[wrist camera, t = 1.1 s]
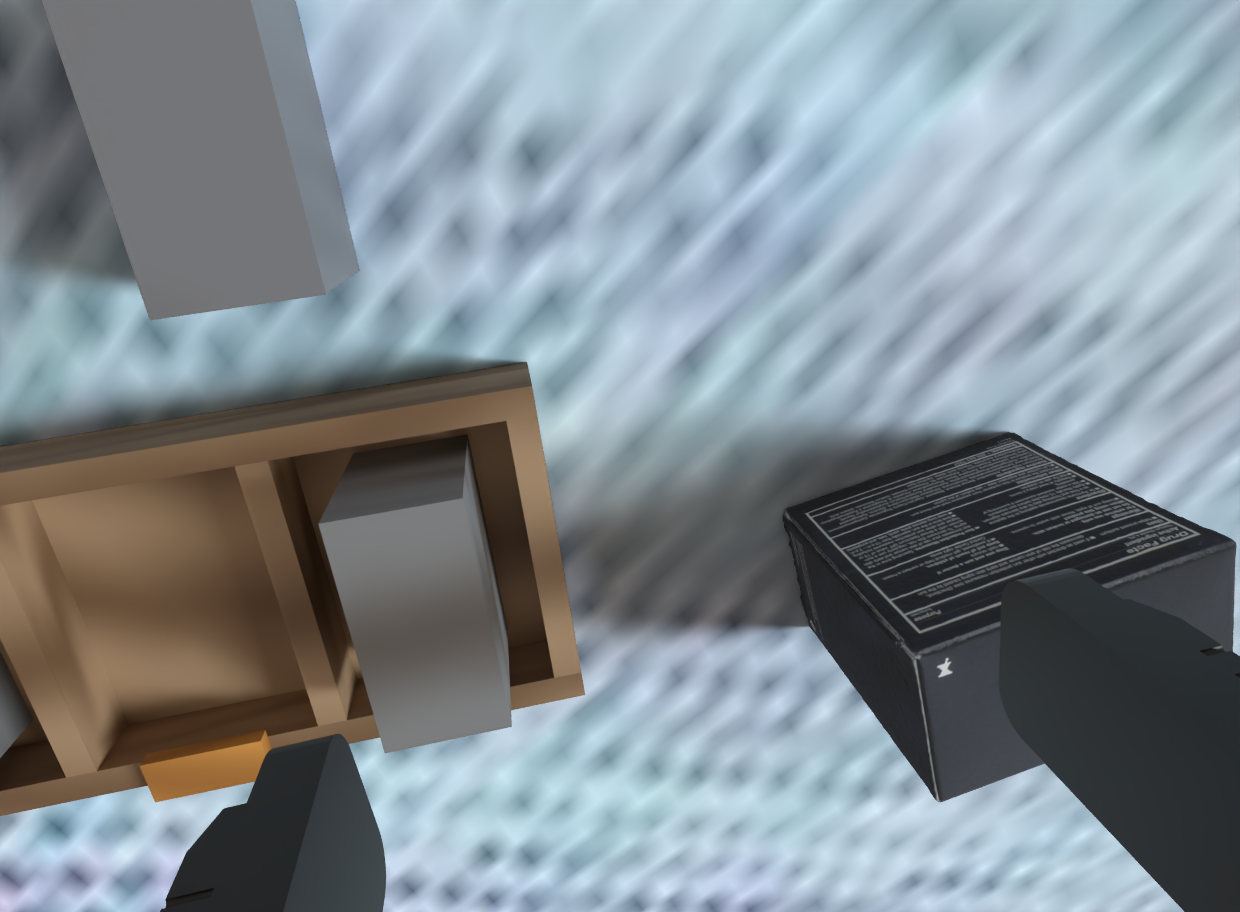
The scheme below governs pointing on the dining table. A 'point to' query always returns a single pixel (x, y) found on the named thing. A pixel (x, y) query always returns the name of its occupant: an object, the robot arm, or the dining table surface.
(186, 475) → the rack
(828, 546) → the small box
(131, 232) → the block
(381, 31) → the dining table surface
